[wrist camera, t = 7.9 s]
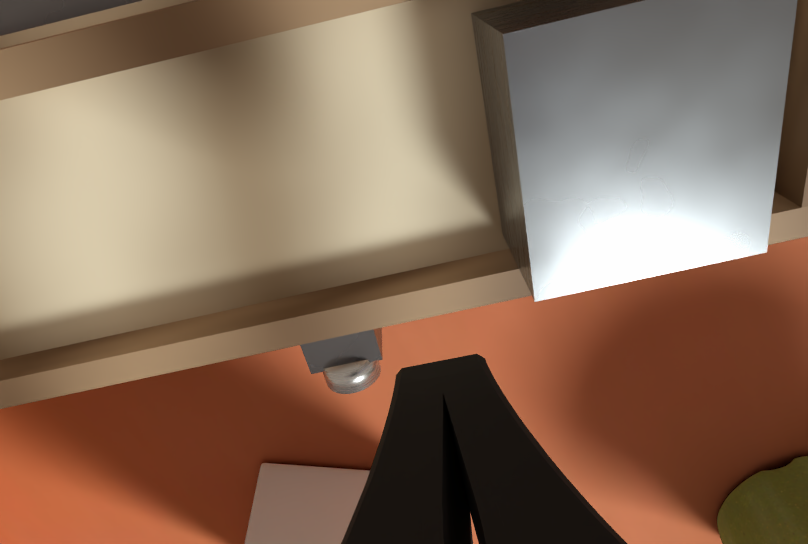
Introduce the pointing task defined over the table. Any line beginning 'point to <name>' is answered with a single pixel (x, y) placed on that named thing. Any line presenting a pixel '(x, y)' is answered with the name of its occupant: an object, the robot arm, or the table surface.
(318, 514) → the milk carton
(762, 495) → the plant pot
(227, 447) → the table surface
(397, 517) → the robot arm
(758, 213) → the block
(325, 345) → the beam stand
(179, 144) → the beam
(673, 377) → the table surface
